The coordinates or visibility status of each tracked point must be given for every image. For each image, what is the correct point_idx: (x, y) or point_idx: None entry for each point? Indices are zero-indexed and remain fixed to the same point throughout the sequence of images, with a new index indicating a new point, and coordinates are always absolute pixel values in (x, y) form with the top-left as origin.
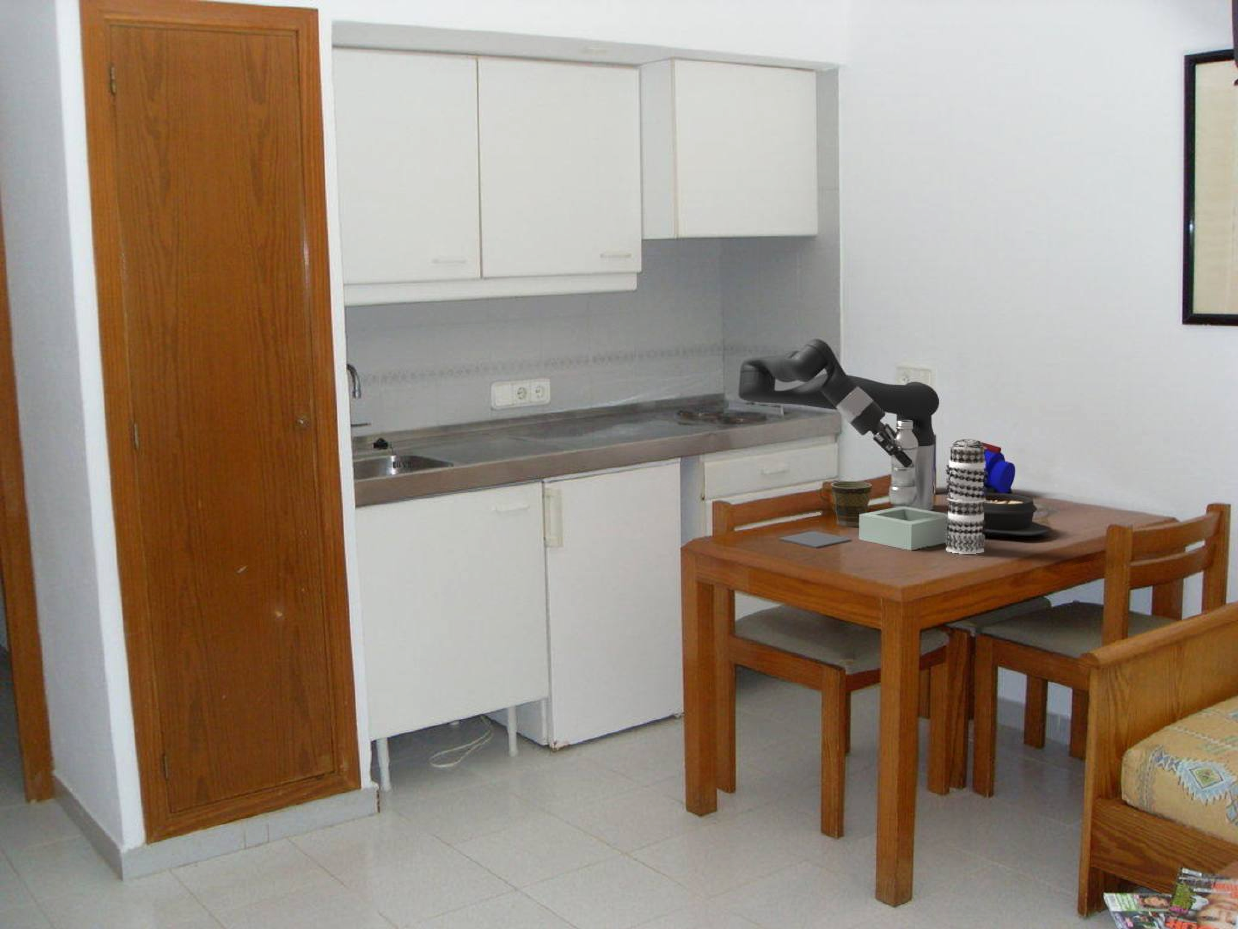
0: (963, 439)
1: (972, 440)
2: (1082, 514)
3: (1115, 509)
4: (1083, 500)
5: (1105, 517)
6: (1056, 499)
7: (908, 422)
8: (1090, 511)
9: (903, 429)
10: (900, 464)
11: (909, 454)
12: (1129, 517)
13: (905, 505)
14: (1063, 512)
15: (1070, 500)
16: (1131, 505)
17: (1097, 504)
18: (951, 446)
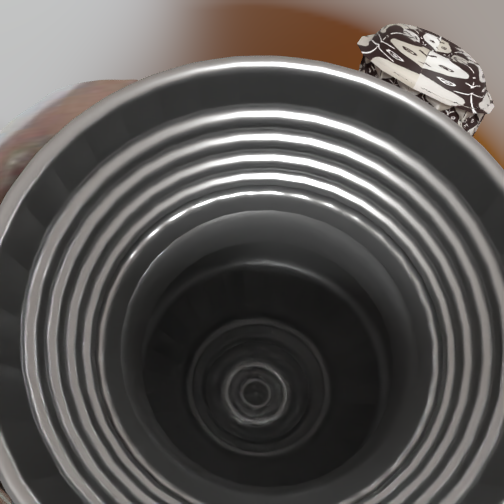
0: (412, 40)
1: (412, 32)
2: (74, 114)
3: (64, 96)
4: (18, 123)
5: (96, 97)
6: (3, 144)
7: (480, 165)
8: (63, 111)
9: (447, 355)
10: (333, 405)
11: (352, 338)
12: (103, 84)
13: (295, 385)
14: (57, 130)
15: (12, 132)
16: (54, 91)
17: (38, 111)
18: (456, 100)
